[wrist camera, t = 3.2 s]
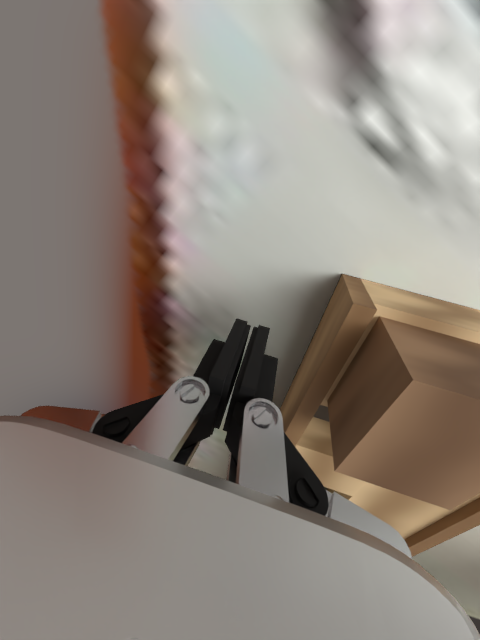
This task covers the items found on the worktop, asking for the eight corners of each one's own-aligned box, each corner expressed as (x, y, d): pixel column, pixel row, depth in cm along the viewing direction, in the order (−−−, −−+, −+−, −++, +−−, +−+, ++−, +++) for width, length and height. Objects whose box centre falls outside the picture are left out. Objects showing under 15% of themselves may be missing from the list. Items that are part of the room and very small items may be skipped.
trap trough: (622, 348, 12) (821, 457, 7) (360, 533, 27) (371, 606, 23) (342, 273, 13) (362, 327, 9) (242, 491, 28) (230, 552, 24)
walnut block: (496, 348, 10) (587, 431, 7) (414, 427, 14) (450, 510, 10) (379, 315, 11) (413, 379, 7) (327, 400, 14) (334, 471, 11)
